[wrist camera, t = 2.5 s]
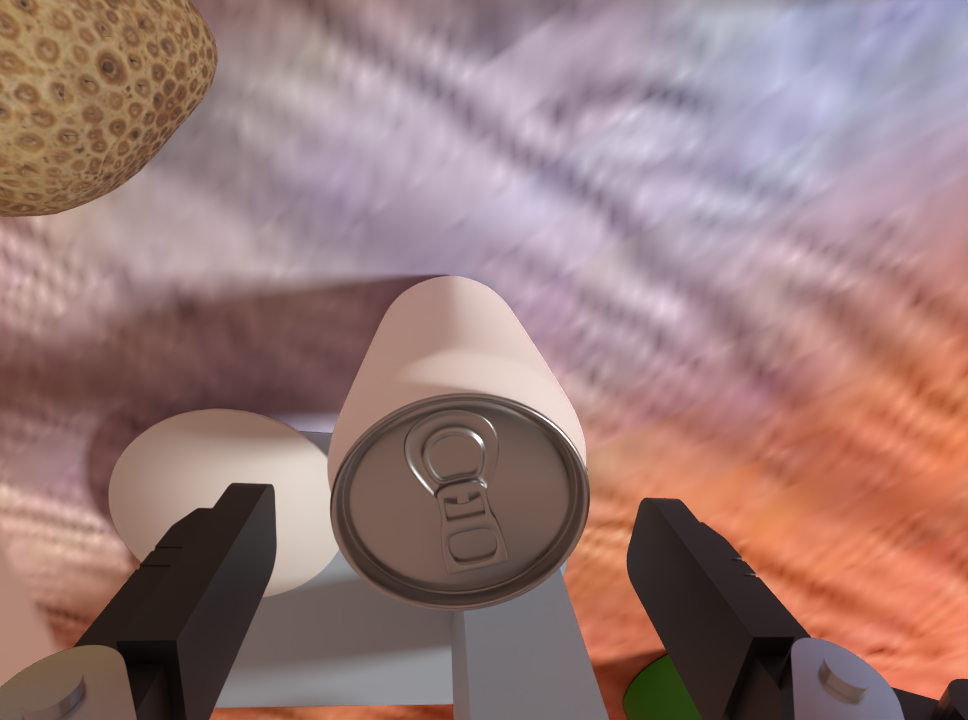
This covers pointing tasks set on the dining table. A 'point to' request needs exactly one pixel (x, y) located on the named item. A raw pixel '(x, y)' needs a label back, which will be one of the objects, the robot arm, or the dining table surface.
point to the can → (456, 455)
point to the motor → (659, 695)
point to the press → (346, 591)
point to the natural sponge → (92, 94)
